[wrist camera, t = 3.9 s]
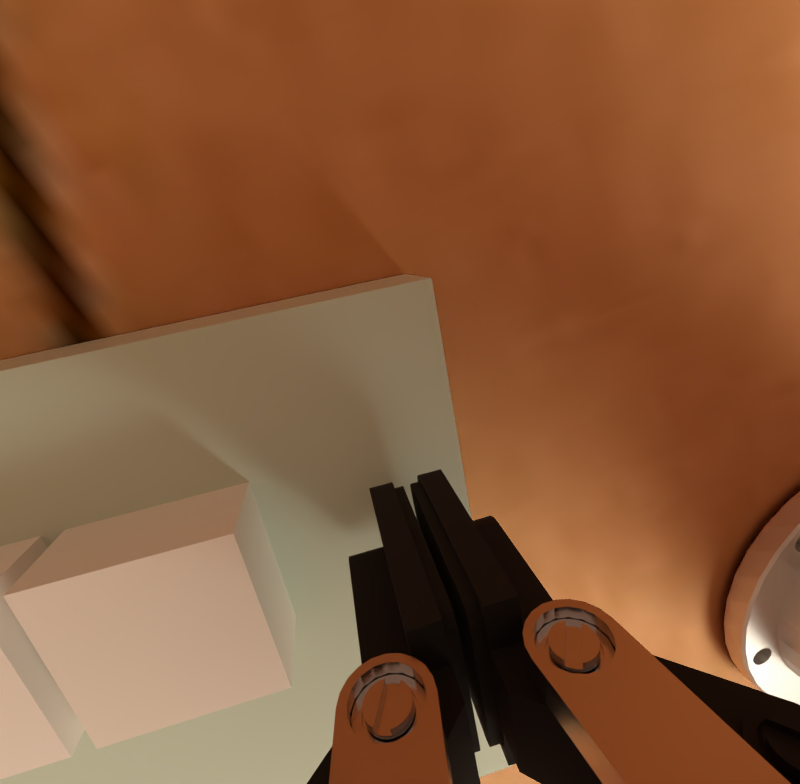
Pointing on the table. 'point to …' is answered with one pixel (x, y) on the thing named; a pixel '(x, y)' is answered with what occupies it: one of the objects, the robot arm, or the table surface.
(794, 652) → the robot arm
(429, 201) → the table surface
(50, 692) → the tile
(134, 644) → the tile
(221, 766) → the beige flat slab
